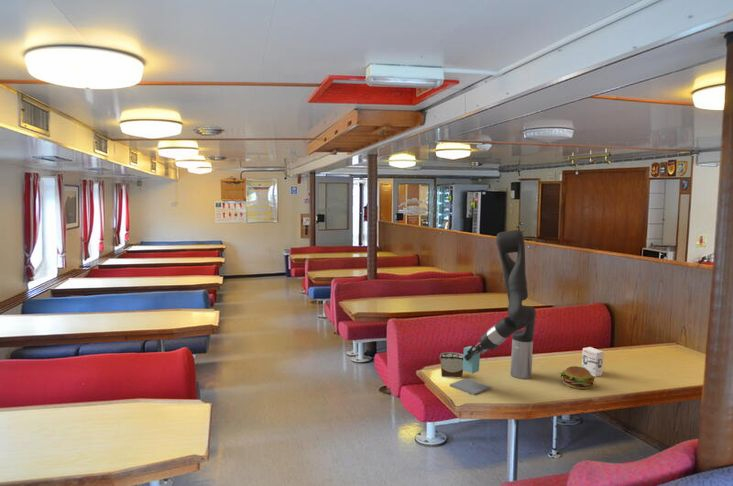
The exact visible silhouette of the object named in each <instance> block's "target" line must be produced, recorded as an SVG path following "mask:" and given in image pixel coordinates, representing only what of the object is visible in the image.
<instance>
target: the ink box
mask: <svg viewBox="0 0 733 486" xmlns="http://www.w3.org/2000/svg"><path fill="white" fill-rule="evenodd" d="M603 365H604V351H603V350H600V349H597V348H594V347H592V346H588V347H583V348H582V353H581V366H580V367H582V368H585V369H587V370H588V371H589V372H590V373H591V375H593V376H595V378H596V376H597V377H601V375H602V376H603Z"/></svg>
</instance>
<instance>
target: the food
mask: <svg viewBox="0 0 733 486" xmlns="http://www.w3.org/2000/svg"><path fill="white" fill-rule="evenodd" d="M559 374H560V378H562V379H563V381H562V382H563V384H564V385H565V386H567V387H570V388H573V389H576V390H587V389H588V390H589V389H591V388H592V386H593V385H594V382H595V379H596V377H594V376H593V375H591V373H590V372H589V371H588V370H587V369H585V368H582V367H581V366H575V365H574V366H568V367H567V368H566V369H564V370H563V371H561V372H559Z"/></svg>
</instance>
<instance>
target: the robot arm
mask: <svg viewBox="0 0 733 486" xmlns="http://www.w3.org/2000/svg"><path fill="white" fill-rule="evenodd" d="M495 237H496V238H495V239H496V245H497V250H498V254H499V258H500V260H501V266H502V271H503V280H504V285H505V289H506V294H507V299H508V306H507V316H505V317H502V318H501V319H500V320H499V321H498V322H496V323H495V324H494V325H493V326H491V327H490V328H489V329H487V330H486V331H485V332H484V333H483V334H481V336H480V341H479V342H477V344H476V345H475V344H474V345H473V344H472V345H471V346H472V347H471V348H470V349H469V350H468V351H467V353H468V354H467V355H465V356H464V358H465V359H466V361H468V360H469V359H470V358H472V357H473V356H474V355H476V354H479V353H480V355H483V354H485V353H486V352H488V351H493V350H495V349H497V348H498V347H499V346H500V345H502V344H503V343H504V342H505V341H506V340H507V339H508V338H509V337H510V336H512V337H511V339H512V340H511V354H510V355H511V356H510V370H509V371H510V373H509V374H510V376H512V377H513V378H517V379H522V380H523V379H525V380H526V379H530V378H532V377H531V376H532V373H533V372H532V371H533V370H532V369H533V347H534V346H533V345H534V334H535V323H536V308H535V307H533V306H530V305H524V304H523V302H524V301H526V300H527V299H528V297H529V295H528V294H529V293H528V283H527V282H528V281H527V275H526V248H525V247H526V245H525V236H524V234H523V231H521V229H515V230H514V229H513V230H506V231H500V232H498V233H497V234H496V236H495ZM511 253H517V256H516V261H514V260H513V259H512V258H511V256H510V255H509V254H511ZM523 328H524V329H523ZM522 329H523V330H522ZM477 351H478V352H477Z"/></svg>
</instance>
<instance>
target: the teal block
mask: <svg viewBox="0 0 733 486" xmlns="http://www.w3.org/2000/svg"><path fill="white" fill-rule="evenodd" d="M472 346H473V345H469V346H466V347H463V353H462V354H463V372H466V373H469V374H474V373H478V372H479V371H480V360H481V359H480V358H481V357H480V356H481V354H480V353H479V354H476V355H474V356H473V357H472V358H470V359H469V360H468V361H466V359H465V358H464V356H465V355H467V354H468V353H467V351H468V350H469V349H470V348H471V347H472ZM477 352H478V351H477Z"/></svg>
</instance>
